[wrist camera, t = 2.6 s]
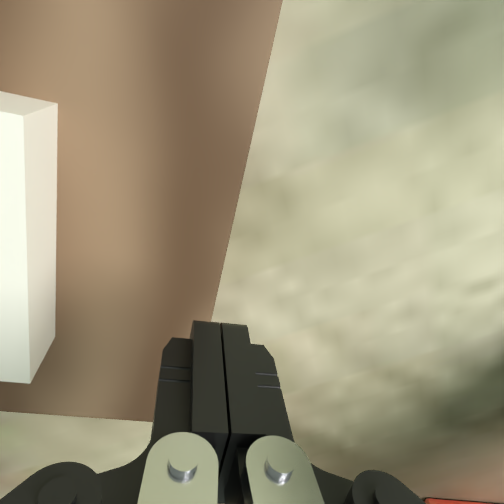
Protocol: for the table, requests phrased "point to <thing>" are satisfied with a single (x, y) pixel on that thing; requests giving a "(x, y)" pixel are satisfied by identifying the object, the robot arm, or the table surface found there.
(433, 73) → the table surface
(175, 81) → the brown wooden board
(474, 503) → the cracker box
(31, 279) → the tile
